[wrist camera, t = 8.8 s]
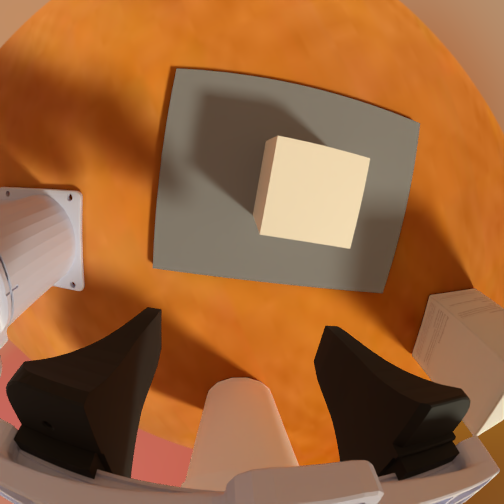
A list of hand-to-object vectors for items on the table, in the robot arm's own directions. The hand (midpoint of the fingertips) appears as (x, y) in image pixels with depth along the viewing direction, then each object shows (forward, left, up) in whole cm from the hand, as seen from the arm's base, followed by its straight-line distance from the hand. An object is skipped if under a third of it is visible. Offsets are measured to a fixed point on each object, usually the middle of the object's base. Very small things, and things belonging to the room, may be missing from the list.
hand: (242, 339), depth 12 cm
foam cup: (+2, -14, -10) cm, 17 cm away
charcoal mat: (+3, +6, -9) cm, 12 cm away
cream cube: (+3, +6, -9) cm, 11 cm away
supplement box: (+22, -4, -10) cm, 24 cm away
